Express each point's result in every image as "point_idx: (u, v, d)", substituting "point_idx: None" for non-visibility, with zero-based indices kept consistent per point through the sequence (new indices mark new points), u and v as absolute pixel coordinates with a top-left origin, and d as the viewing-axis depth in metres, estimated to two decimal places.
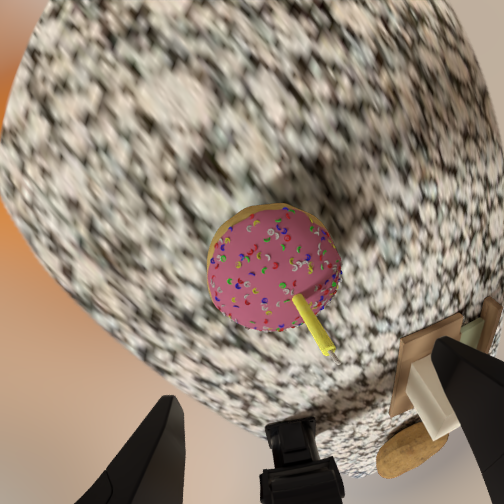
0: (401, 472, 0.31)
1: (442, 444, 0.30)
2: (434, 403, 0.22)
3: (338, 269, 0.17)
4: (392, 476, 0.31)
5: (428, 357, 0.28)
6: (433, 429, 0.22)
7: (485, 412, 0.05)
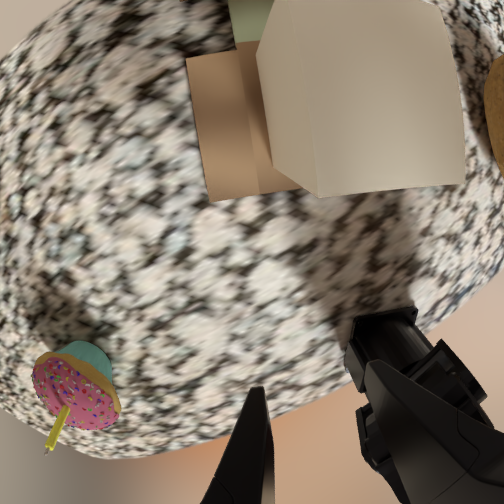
0: None
1: None
2: None
3: (50, 368, 0.16)
4: None
5: (268, 127, 0.15)
6: None
7: (412, 452, 0.05)
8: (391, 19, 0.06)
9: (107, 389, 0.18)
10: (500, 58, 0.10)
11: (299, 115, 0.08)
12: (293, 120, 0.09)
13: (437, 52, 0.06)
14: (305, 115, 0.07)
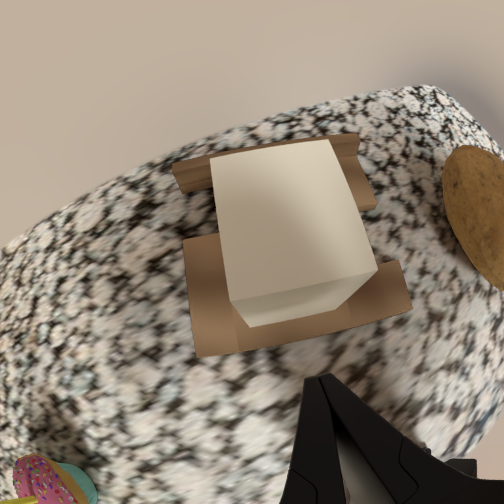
0: None
1: (478, 156, 0.16)
2: (253, 310, 0.13)
3: (32, 462, 0.11)
4: None
5: None
6: (335, 285, 0.12)
7: (355, 474, 0.05)
8: (283, 164, 0.13)
9: (81, 502, 0.11)
10: (444, 167, 0.19)
11: None
12: None
13: (326, 174, 0.12)
14: None
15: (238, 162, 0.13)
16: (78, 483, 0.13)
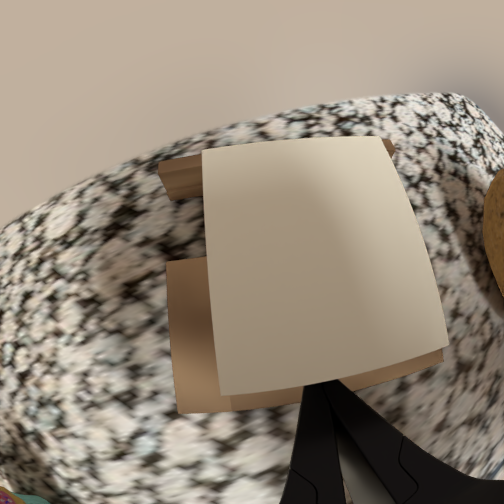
0: None
1: None
2: None
3: None
4: None
5: None
6: None
7: (355, 474, 0.05)
8: (317, 167, 0.08)
9: None
10: (489, 190, 0.14)
11: None
12: None
13: (381, 189, 0.08)
14: None
15: (246, 158, 0.08)
16: None
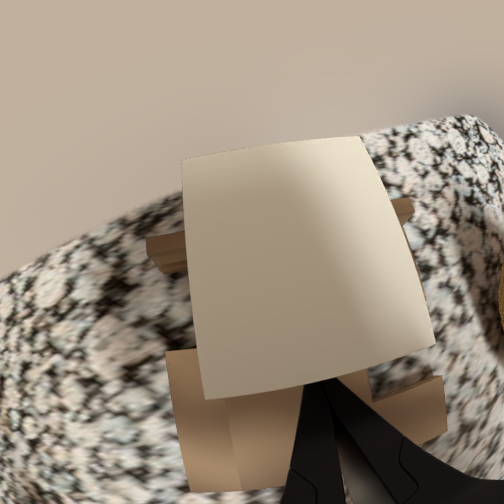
0: None
1: None
2: None
3: None
4: None
5: None
6: None
7: (355, 474, 0.05)
8: (295, 171, 0.08)
9: None
10: None
11: None
12: None
13: (360, 189, 0.08)
14: None
15: (224, 166, 0.08)
16: None
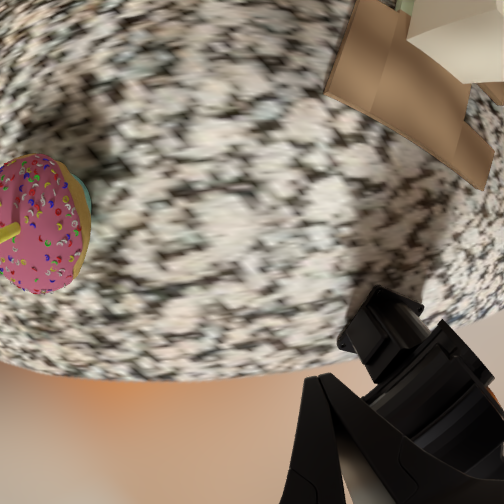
0: None
1: None
2: (472, 26, 0.07)
3: (32, 164, 0.11)
4: None
5: (413, 17, 0.12)
6: None
7: (355, 474, 0.05)
8: None
9: (85, 230, 0.13)
10: None
11: None
12: None
13: None
14: None
15: None
16: None
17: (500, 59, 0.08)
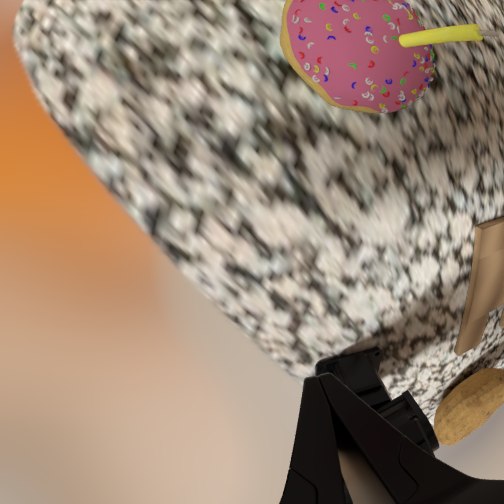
0: (465, 434, 0.23)
1: None
2: None
3: None
4: (455, 440, 0.23)
5: None
6: None
7: (355, 474, 0.05)
8: None
9: None
10: None
11: None
12: None
13: None
14: None
15: None
16: None
17: None
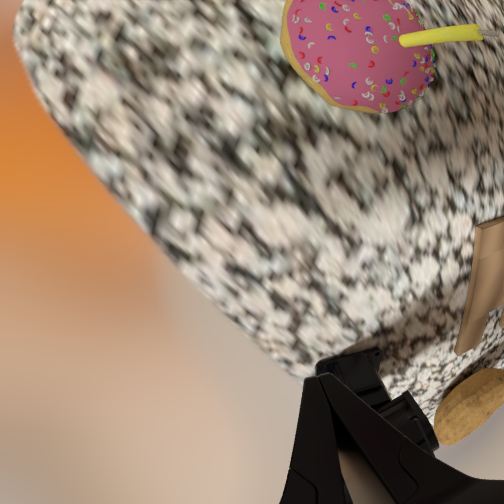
0: (465, 434, 0.23)
1: None
2: None
3: None
4: (455, 440, 0.23)
5: None
6: None
7: (355, 474, 0.05)
8: None
9: None
10: None
11: None
12: None
13: None
14: None
15: None
16: None
17: None
